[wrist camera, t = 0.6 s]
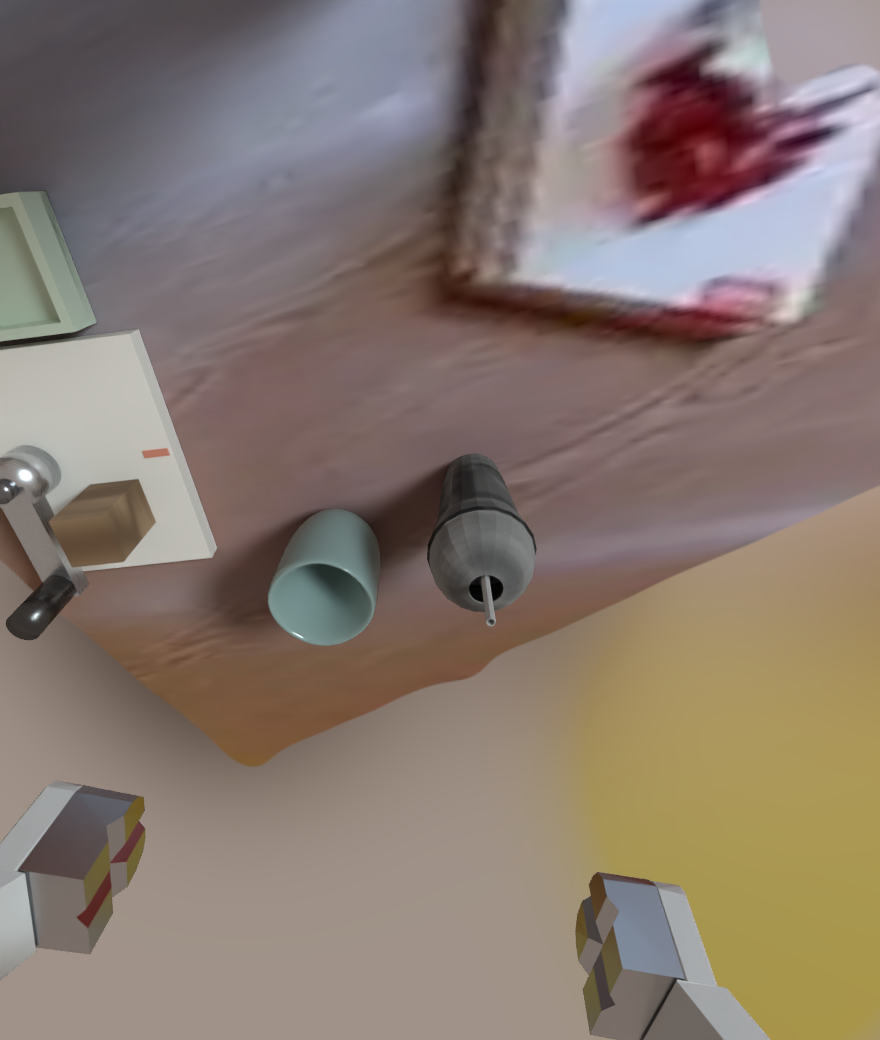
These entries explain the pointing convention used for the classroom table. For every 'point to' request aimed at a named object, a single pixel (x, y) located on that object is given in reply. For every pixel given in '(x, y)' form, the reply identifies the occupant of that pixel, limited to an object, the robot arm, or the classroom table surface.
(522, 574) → the beverage cup
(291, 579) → the cup
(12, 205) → the tray
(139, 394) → the crank plate
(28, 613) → the crank
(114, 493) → the block
